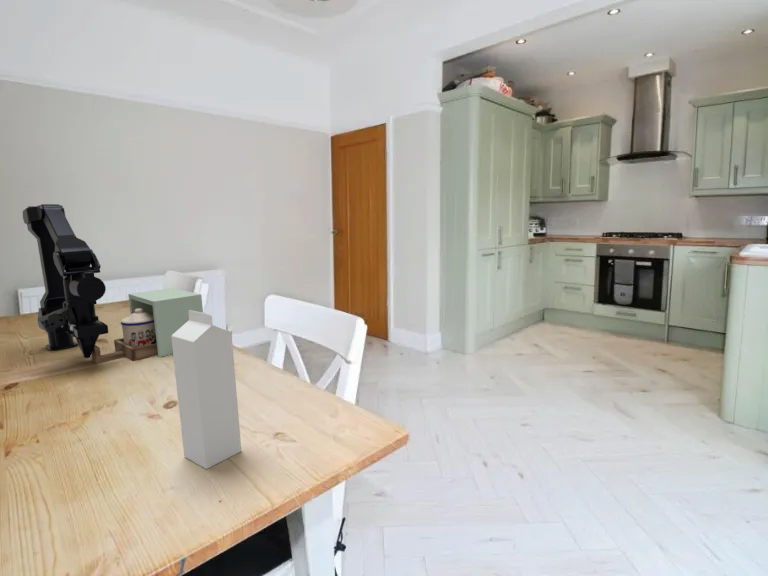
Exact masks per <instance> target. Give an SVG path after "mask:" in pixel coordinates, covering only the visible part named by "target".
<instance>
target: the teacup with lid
mask: <svg viewBox="0 0 768 576" xmlns="http://www.w3.org/2000/svg"><path fill="white" fill-rule="evenodd" d="M120 325H121V329H122V338H124V343H125V344H127V345H129V346H131V347H133V348H137V347H142V346H147V345H151V344H156V343H157V341H156V332H155V324H154V315H153V314H149V313H147V312H143V309H135V313H133V314H131V313H130V315H128V316H127V317H124V318H122V319H121V320H120Z"/></svg>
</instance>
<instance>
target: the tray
mask: <svg viewBox="0 0 768 576" xmlns="http://www.w3.org/2000/svg"><path fill="white" fill-rule="evenodd" d="M113 344H114V350H115V352H114V351H113V352H110V353H105V354H101V348H100V347H99V346H98V345H97V344H95V346H94V349H93V351H92V354H91V361H92V362H94V363H96V364H97V365H98V364H102V363H103V362H108V361H112V360H116V359H121V358H125V357H126V358H127V359H129V360H131V361H132V362H135V361H139V360H143V359H146V358H147V359H148V358H151V356H152V357H156V356H158V350H157V343H156V344H151V345H147V346H142V347H137V348H133V347H131V346H129V345H127V344H125V343H124V338H123V337H121V338H117V339H114V340H113ZM155 355H156V356H155Z"/></svg>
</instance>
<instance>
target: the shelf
mask: <svg viewBox="0 0 768 576" xmlns="http://www.w3.org/2000/svg"><path fill="white" fill-rule="evenodd" d="M127 295H128V304H129V312H130V315H131V314H133V313H135V309H143V312H147V313H149V314H153V315H154V324H155V332H156V341H157V350H158V355H157V356H158V357H159V358H163V357H166V355H167V356H170V355H169V354H171V355H173V347H172V338H171V336H172V335H173V334H174V333H175V332H176V331H177V330H178V329H179V328H181V327H182V326H183V325H184V324H185V323H186V322H188V321H189V310H191V311H196V312H201V313H204V310H203V309H204V308H203V297H202V296H203V295H202V294H201V293H197V292H193V291H189V290H183V289H179V288H175V287H171V288H163V289H162V288H161V289H155V290H149V291H141V292H133V293H127ZM162 356H163V357H162Z"/></svg>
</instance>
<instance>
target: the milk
mask: <svg viewBox="0 0 768 576" xmlns="http://www.w3.org/2000/svg"><path fill="white" fill-rule="evenodd" d="M232 334H233V333H232V331H229V330H227V329H225V328H221V327H219V326H217V325H213V317H212V314H210V313H206V312H203V313H201V312H196V311H191V310H189V321H188V322H186V323H185V324H184V325H183V326H182V327H181V328H179V329H178V330H177V331H176V332H175V333H174V334H173V335H172V336H171V338H172V347H173V354H172V356H173V364H174V372H175V373H174V374H175V382H176V384H175V385H176V392H177V401H178V410H179V411H178V412H179V420H180V421H179V422H180V428H181V429H180V430H181V440H182V448H183V456H184V458H186V459H188V460H189V461H191V462H193V463H195V464H196V465H198V466H199V467H201V468H203V469H205V470H208V469H210V468H212V467H213V466H215V465H217V464H219V463H221V462H223V461H225V460H227V459H229V458H231V457H233V456H235V455H237V454H239V453H240V452H242V442H241V431H240V419H239V418H240V417H239V406H238V405H239V404H238V394H237V393H238V392H237V384H236V383H237V381H236V372H235V371H236V370H235V359H234V348H233V347H234V346H233V336H232Z"/></svg>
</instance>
